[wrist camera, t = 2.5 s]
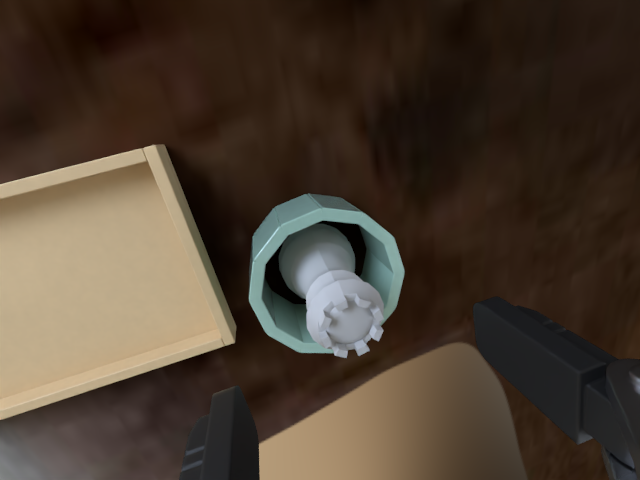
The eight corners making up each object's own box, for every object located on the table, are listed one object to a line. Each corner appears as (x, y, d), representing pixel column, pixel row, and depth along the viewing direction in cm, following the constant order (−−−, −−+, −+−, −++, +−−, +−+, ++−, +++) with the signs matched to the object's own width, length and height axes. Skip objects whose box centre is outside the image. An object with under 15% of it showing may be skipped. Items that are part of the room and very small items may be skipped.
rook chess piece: (269, 232, 19) (280, 294, 11) (342, 212, 19) (400, 259, 12) (287, 299, 20) (309, 393, 13) (355, 279, 21) (414, 358, 13)
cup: (304, 167, 18) (318, 175, 14) (397, 242, 21) (431, 267, 17) (224, 272, 19) (216, 307, 15) (323, 332, 21) (339, 375, 17)
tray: (164, 144, 16) (155, 144, 15) (236, 327, 20) (235, 343, 18) (-197, 236, 15) (-252, 248, 13) (-44, 418, 18) (-73, 444, 17)
